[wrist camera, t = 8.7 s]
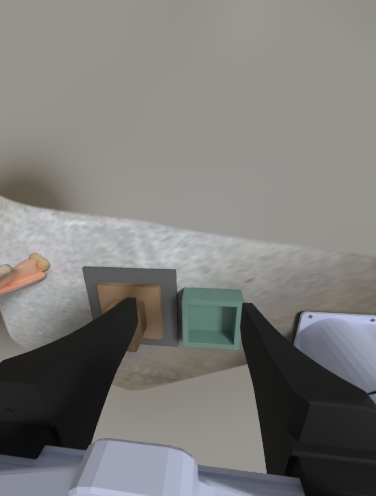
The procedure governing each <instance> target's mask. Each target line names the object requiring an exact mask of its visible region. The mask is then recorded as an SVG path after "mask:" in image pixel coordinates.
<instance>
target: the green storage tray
mask: <svg viewBox="0 0 376 496" xmlns="http://www.w3.org/2000/svg"><path fill="white" fill-rule="evenodd" d="M242 303H244V300H243V297H242V293H241V290H229V289H206V288H184V292H183V296H182V324H183V346H192V347H206V348H219V349H233V350H239V346H240V337H241V333H240V321H241V312H242Z"/></svg>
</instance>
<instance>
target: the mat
mask: <svg viewBox="0 0 376 496" xmlns="http://www.w3.org/2000/svg"><path fill="white" fill-rule="evenodd" d="M82 269H83V274H84V278H85V283H86V287H87V292H88V297H89V301H90V306H91V310H92V315H93V320H95V319H96V318H98V317H99V316H101V315H102V311H101V305H100V300H99V295H98V290H97V284H98V283H100V282H110V283H133V284H156V285H161V301H162V316H163V331H164V336H163V339H152V338H142V340H141V342H140V344H146V345H160V346H174V347H178V345H179V343H178V314H177V285H176V270H174V269H144V268H115V267H85V266H84V267H83V268H82Z"/></svg>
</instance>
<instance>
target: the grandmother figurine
mask: <svg viewBox="0 0 376 496" xmlns="http://www.w3.org/2000/svg"><path fill="white" fill-rule="evenodd" d="M49 267H50V264H49V262H48V260H46V259H45V258H44V257H42V256H41V255H39V254H38V253H32V254H31V255H30V256H29V259H27V260H25V261H23V262H21V263H19V264H18V265H17V266H15V267H14V268H12V267H11V266H10V265H8V264H4V265H1V266H0V296H2V295H5V294H7V293H10V292H13V291H15V290H18V289H20V288H23V287H25V286H28V285H30V284H33V283H35V282H37V281H39V280H41V279H44V278H45V276H46V274H45V273H43V271H47V270H48V269H49ZM41 271H42V272H41Z"/></svg>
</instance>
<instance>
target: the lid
mask: <svg viewBox="0 0 376 496" xmlns="http://www.w3.org/2000/svg"><path fill="white" fill-rule="evenodd" d="M97 290H98V295H99V300H100V305H101V311H102V315H103V314H104V313H105V312H107V311H108V310H110V309H111V308H112V307H114V306H115V305H117V304H118V303H119V302H121V301H122V300H124V299H125V298H127V297H136V304H137V312H138V321H139V322H138V325H137V328H136V331H135V334H134V336H133V339H132V341H131V343H130V345H129V347H128V349H127V351H130V352H137V349H138V347H139V345H140V342H141V340H142V338H152V339H163V336H164V331H163V316H162V301H161V285H156V284H133V283H110V282H100V283H98V284H97Z"/></svg>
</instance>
